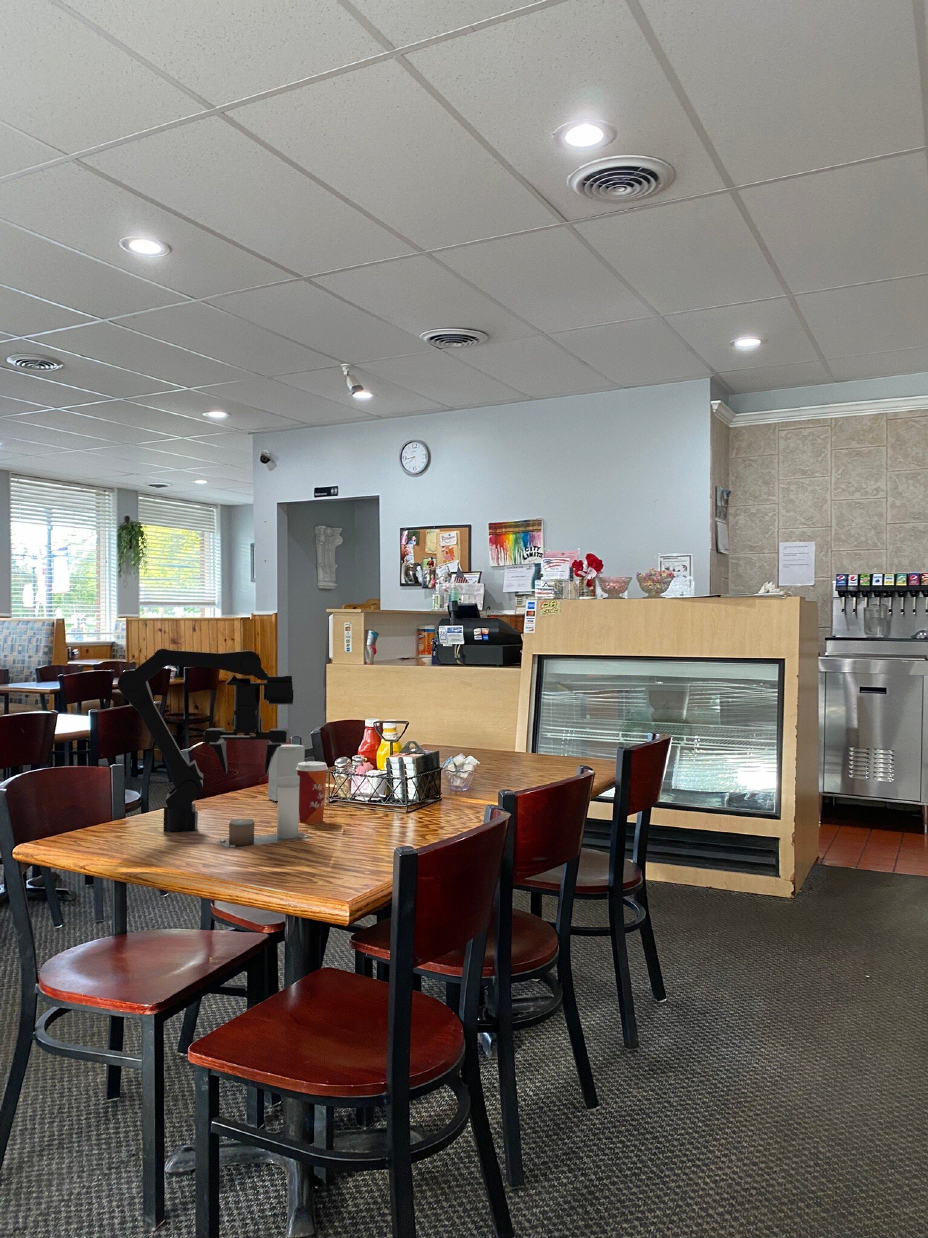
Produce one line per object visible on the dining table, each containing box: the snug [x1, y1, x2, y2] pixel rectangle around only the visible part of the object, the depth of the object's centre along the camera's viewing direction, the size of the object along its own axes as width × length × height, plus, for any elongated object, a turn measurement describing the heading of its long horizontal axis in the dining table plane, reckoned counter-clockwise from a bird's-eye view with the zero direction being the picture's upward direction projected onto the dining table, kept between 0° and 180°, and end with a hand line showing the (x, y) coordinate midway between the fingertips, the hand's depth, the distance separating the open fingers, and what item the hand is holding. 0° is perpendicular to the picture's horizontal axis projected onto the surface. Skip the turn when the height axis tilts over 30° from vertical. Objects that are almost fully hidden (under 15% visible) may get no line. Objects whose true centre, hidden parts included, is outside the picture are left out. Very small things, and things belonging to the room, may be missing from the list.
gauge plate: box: [215, 830, 314, 849], centre depth 191 cm, size 19×8×1 cm, turn 125°
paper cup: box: [296, 761, 329, 824], centre depth 215 cm, size 8×8×14 cm
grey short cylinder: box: [228, 817, 255, 845], centre depth 188 cm, size 5×5×4 cm
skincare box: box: [267, 744, 306, 802], centre depth 244 cm, size 8×6×15 cm
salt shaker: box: [276, 775, 300, 839], centre depth 195 cm, size 5×5×13 cm
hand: (246, 773), depth 204 cm, fingers open, 9 cm apart
